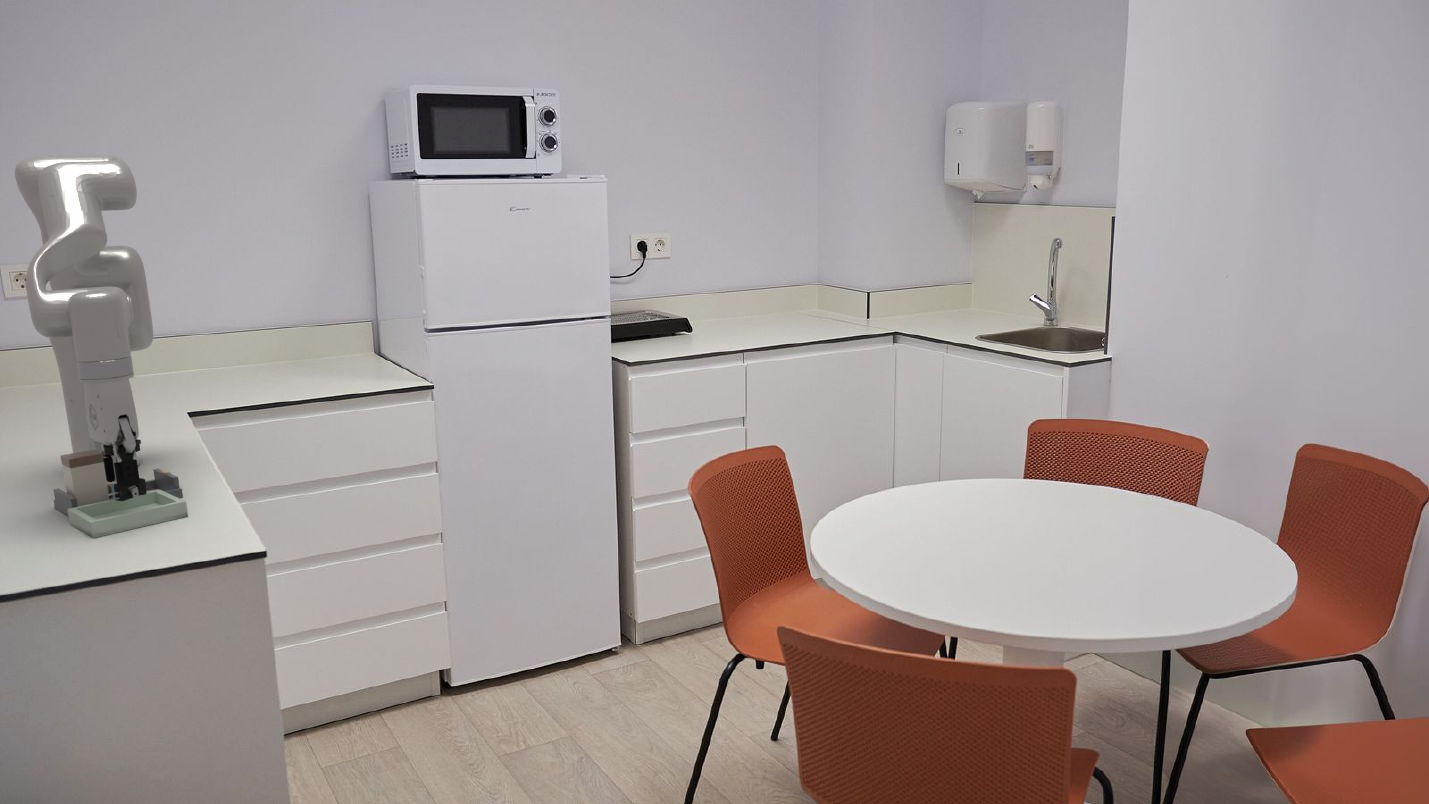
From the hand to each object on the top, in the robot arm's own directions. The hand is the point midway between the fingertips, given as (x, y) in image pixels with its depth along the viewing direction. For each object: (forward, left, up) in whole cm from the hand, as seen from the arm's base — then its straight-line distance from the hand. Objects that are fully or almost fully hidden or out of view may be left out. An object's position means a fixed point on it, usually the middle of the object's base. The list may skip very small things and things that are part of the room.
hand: (123, 481), depth 175 cm
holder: (-13, +3, -6) cm, 15 cm away
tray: (0, 0, -6) cm, 6 cm away
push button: (0, 0, -3) cm, 3 cm away
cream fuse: (-13, -2, -6) cm, 15 cm away
